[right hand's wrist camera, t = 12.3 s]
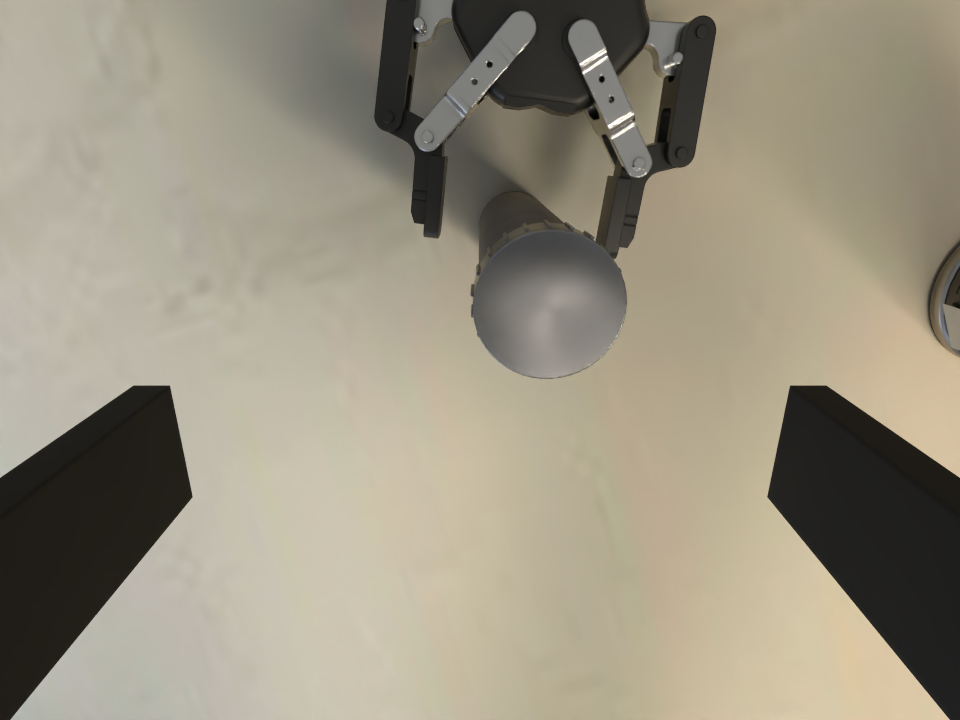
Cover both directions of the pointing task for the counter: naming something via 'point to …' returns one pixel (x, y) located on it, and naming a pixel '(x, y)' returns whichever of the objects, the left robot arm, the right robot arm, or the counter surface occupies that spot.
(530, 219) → the dark gray cylinder
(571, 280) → the lid
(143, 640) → the counter surface
